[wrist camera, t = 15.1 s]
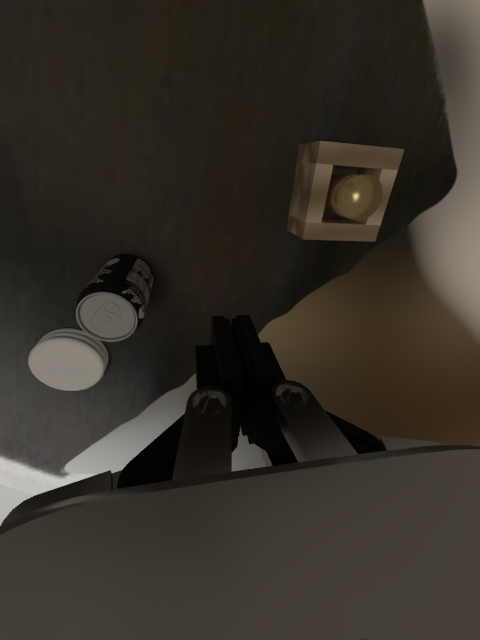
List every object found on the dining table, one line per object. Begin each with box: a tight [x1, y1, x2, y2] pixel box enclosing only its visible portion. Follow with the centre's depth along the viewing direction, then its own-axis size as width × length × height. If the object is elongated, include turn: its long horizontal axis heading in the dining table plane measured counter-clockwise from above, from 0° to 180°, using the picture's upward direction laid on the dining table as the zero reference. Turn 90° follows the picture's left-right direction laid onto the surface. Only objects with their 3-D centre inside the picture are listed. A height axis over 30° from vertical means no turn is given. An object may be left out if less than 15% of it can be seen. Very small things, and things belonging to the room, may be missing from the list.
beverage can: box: [76, 255, 154, 342], centre depth 31 cm, size 7×7×12 cm
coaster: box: [28, 328, 109, 391], centre depth 40 cm, size 10×10×4 cm
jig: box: [287, 141, 404, 241], centre depth 33 cm, size 10×10×6 cm
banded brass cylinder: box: [324, 173, 383, 221], centre depth 31 cm, size 4×4×8 cm
